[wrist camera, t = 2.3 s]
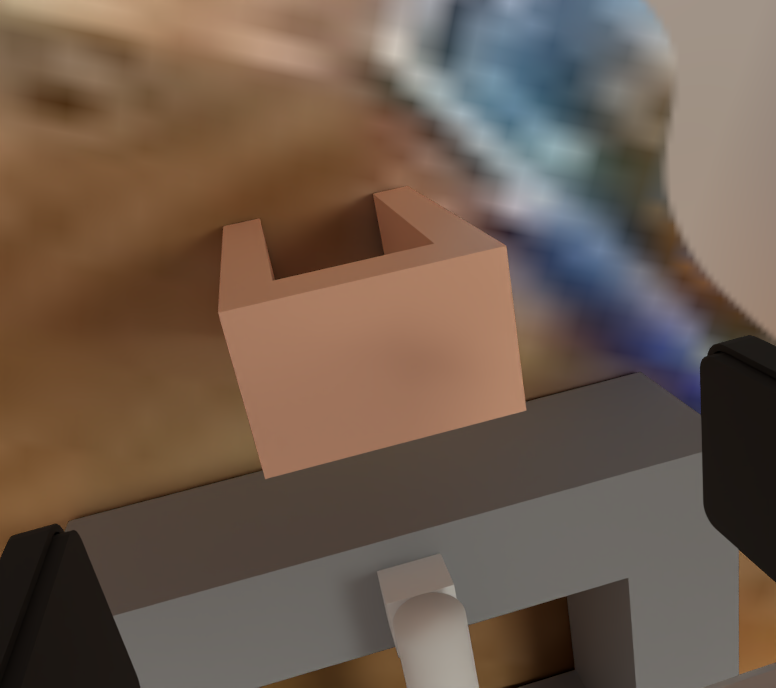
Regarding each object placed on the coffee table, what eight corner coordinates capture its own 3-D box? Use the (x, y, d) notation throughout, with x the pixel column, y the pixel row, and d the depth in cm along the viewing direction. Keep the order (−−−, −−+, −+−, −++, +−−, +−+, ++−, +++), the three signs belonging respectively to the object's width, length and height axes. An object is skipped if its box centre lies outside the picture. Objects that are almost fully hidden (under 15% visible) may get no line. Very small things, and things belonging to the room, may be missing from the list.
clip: (407, 186, 24) (506, 245, 16) (426, 298, 26) (526, 410, 17) (223, 226, 24) (217, 312, 15) (253, 339, 25) (265, 479, 16)
